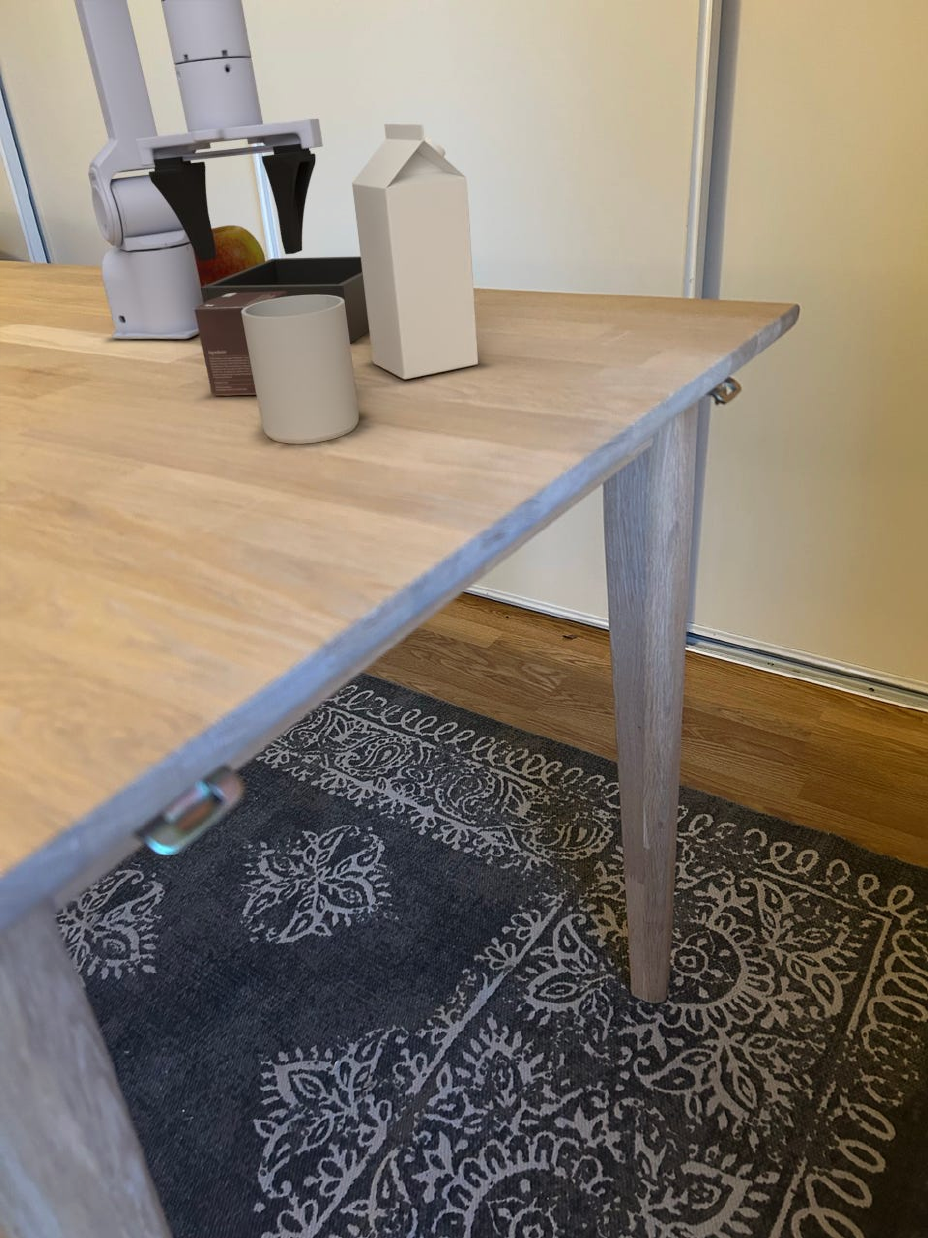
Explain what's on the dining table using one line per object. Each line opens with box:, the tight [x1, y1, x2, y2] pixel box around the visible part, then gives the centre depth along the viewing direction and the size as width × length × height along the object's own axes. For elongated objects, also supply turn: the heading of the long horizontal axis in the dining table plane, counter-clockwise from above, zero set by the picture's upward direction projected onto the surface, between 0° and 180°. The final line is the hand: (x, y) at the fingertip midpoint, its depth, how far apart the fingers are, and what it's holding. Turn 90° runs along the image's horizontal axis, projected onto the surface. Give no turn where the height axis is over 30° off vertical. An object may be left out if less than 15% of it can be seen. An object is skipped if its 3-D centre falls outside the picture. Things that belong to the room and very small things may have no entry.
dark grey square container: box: [200, 255, 370, 345], centre depth 100 cm, size 16×16×6 cm
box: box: [194, 291, 287, 396], centre depth 80 cm, size 6×6×7 cm
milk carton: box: [351, 123, 479, 380], centre depth 79 cm, size 7×7×19 cm
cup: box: [241, 295, 360, 445], centre depth 70 cm, size 7×10×9 cm
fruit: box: [194, 224, 266, 287], centre depth 116 cm, size 10×9×8 cm
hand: (250, 255), depth 77 cm, fingers open, 7 cm apart
